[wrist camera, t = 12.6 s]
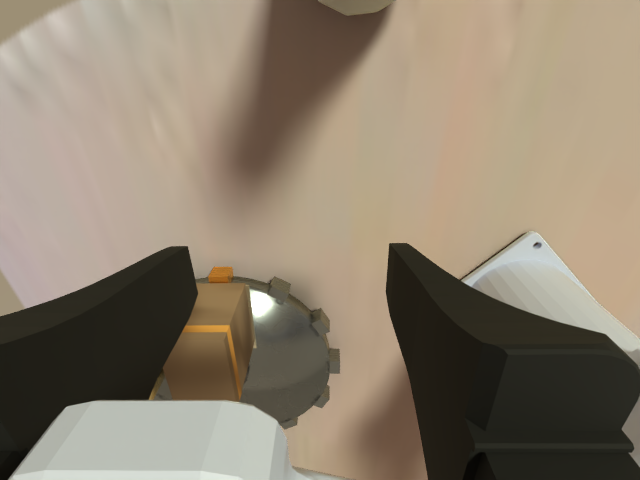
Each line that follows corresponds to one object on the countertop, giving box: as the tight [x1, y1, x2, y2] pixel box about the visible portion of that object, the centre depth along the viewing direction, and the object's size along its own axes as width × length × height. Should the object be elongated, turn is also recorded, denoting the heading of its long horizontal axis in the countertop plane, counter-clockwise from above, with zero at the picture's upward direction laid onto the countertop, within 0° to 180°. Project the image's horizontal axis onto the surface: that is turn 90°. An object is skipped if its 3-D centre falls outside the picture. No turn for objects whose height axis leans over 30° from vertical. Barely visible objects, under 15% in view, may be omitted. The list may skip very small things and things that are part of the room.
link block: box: [163, 283, 254, 402], centre depth 20 cm, size 5×4×5 cm
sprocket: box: [149, 267, 340, 429], centre depth 24 cm, size 15×15×5 cm
